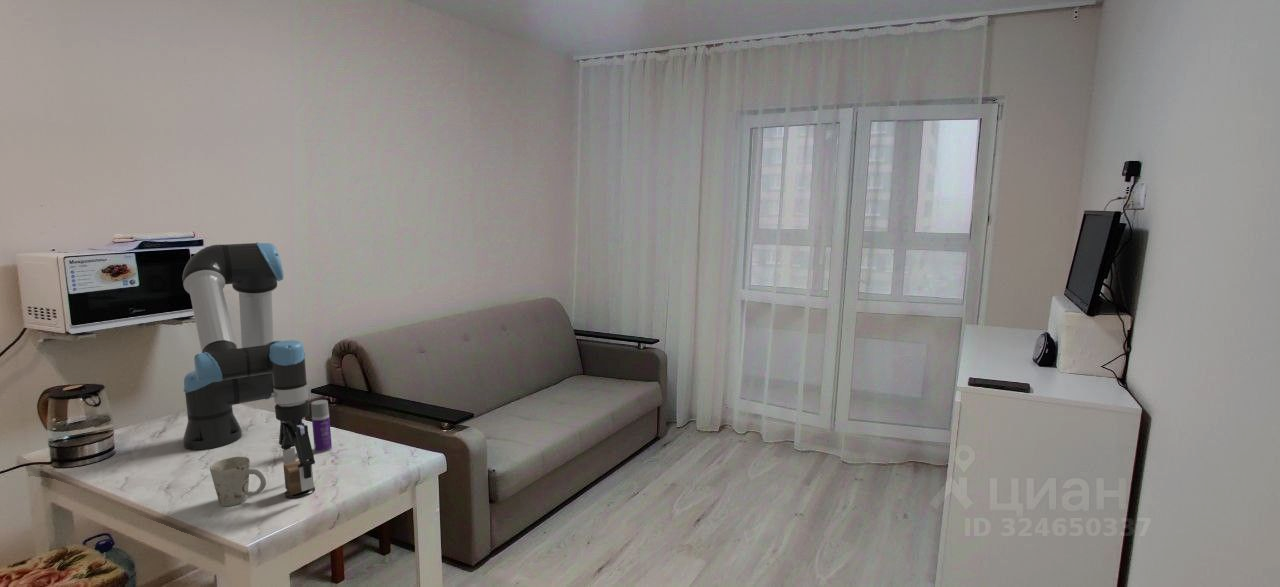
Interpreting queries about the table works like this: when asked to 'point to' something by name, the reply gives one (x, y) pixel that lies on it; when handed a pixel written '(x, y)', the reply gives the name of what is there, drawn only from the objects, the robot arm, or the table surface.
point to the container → (321, 426)
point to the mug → (234, 480)
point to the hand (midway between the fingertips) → (298, 480)
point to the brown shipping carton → (293, 478)
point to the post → (299, 494)
